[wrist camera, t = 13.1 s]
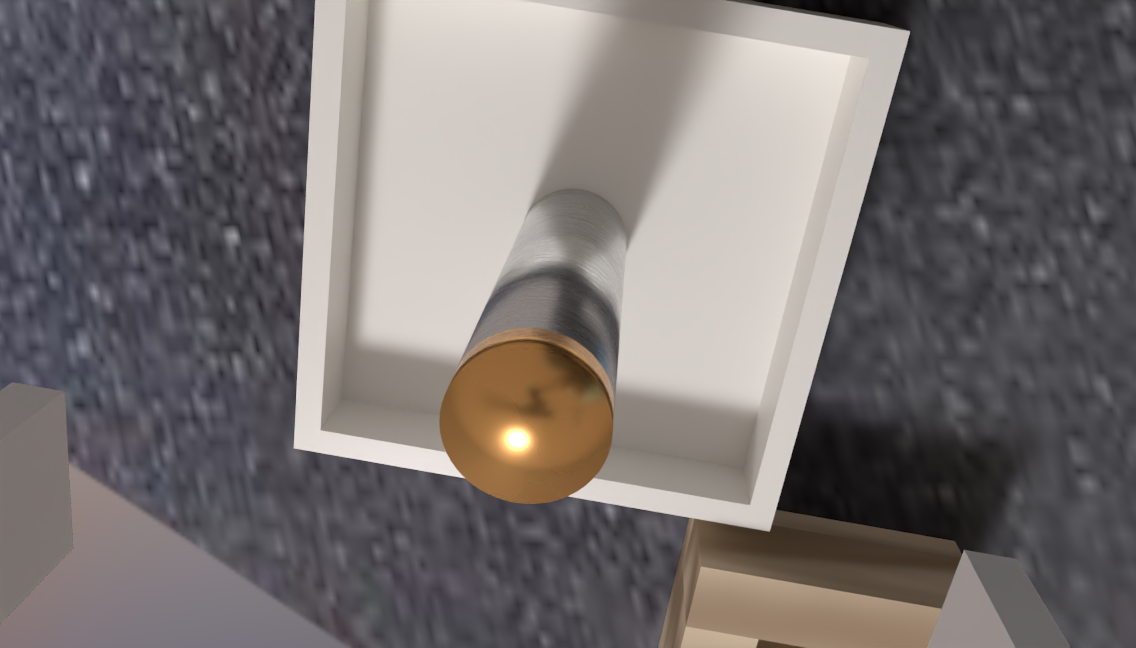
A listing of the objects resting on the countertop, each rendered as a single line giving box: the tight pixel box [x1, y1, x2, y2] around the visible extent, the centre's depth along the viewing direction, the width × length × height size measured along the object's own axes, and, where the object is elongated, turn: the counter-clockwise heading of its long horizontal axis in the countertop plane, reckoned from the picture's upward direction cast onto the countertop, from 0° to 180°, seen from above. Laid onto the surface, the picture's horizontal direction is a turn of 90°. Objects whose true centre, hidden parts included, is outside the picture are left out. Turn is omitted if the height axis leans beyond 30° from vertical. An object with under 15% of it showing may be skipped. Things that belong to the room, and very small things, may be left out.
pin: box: [439, 189, 627, 504], centre depth 23 cm, size 3×3×12 cm
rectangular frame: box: [294, 0, 910, 532], centre depth 28 cm, size 15×15×3 cm
